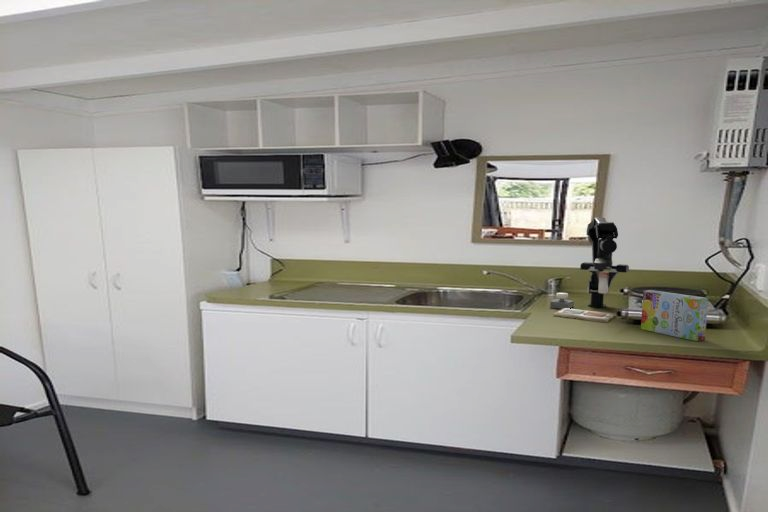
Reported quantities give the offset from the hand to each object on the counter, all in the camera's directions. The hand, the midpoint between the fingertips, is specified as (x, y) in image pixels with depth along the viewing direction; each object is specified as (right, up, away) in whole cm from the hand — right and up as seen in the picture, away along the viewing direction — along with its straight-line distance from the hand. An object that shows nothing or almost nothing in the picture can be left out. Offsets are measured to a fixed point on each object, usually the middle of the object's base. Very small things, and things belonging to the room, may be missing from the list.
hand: (603, 286), depth 220 cm
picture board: (-11, -12, -5) cm, 17 cm away
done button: (-14, -9, +13) cm, 21 cm away
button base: (-14, -10, +13) cm, 21 cm away
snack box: (+9, -15, -36) cm, 40 cm away
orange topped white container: (0, -3, 0) cm, 3 cm away
